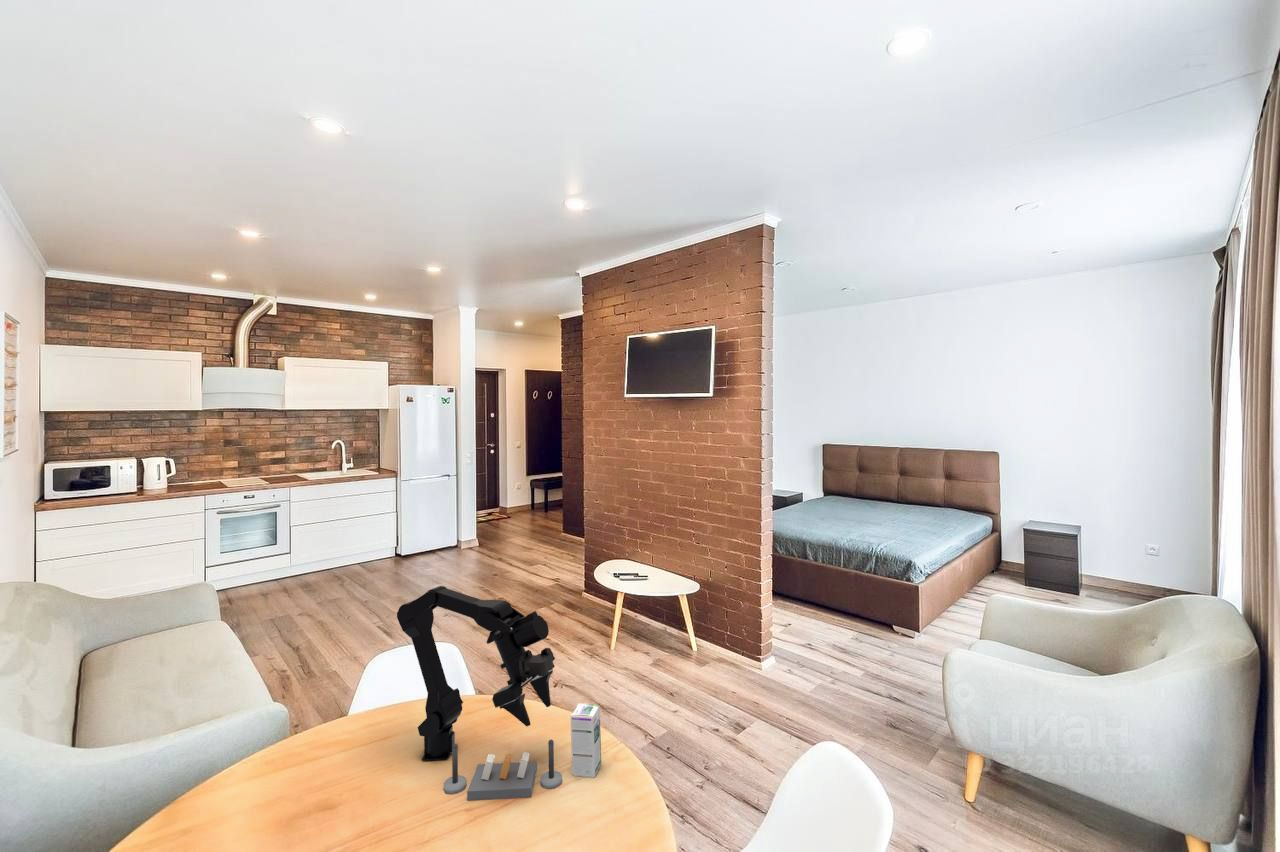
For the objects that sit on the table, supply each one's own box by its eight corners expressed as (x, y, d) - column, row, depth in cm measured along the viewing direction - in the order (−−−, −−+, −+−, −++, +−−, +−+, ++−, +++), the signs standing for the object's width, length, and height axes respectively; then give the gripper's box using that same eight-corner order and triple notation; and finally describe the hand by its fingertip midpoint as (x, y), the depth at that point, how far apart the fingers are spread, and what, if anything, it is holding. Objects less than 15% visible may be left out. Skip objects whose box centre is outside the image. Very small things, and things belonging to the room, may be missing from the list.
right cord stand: (539, 789, 123) (538, 746, 124) (541, 776, 128) (541, 734, 129) (561, 788, 124) (560, 745, 124) (563, 775, 129) (562, 733, 129)
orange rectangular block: (499, 777, 124) (503, 760, 124) (501, 769, 127) (505, 752, 127) (505, 779, 124) (510, 762, 124) (508, 771, 127) (512, 754, 127)
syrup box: (595, 778, 127) (594, 716, 127) (571, 775, 128) (570, 713, 129) (601, 764, 133) (600, 704, 133) (578, 761, 134) (577, 702, 134)
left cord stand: (440, 795, 122) (440, 751, 122) (447, 781, 127) (447, 738, 127) (463, 793, 122) (463, 750, 123) (468, 779, 127) (468, 737, 128)
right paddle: (516, 776, 124) (521, 759, 124) (518, 768, 127) (523, 752, 127) (523, 778, 124) (528, 761, 124) (525, 770, 127) (529, 753, 127)
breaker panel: (467, 800, 120) (467, 791, 120) (478, 772, 130) (477, 764, 130) (531, 797, 121) (530, 788, 121) (536, 769, 131) (536, 761, 131)
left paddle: (481, 778, 124) (485, 761, 124) (484, 770, 127) (488, 753, 127) (488, 780, 124) (492, 762, 124) (491, 772, 127) (495, 755, 127)
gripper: (516, 657, 120) (545, 725, 118) (557, 628, 138) (583, 687, 135) (479, 673, 124) (506, 740, 121) (524, 643, 141) (548, 701, 139)
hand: (539, 715), depth 129 cm, fingers open, 9 cm apart
